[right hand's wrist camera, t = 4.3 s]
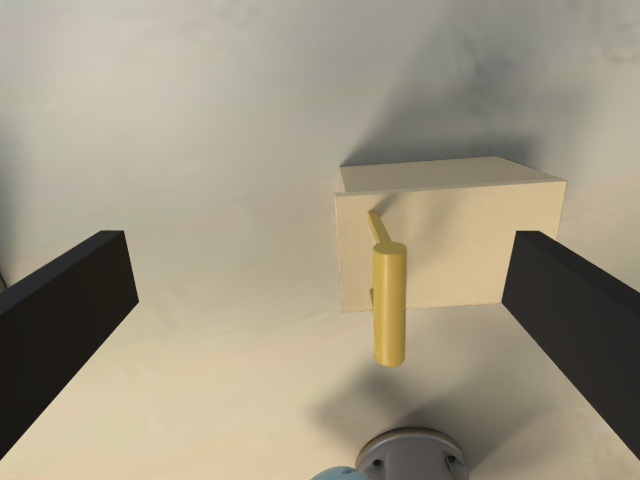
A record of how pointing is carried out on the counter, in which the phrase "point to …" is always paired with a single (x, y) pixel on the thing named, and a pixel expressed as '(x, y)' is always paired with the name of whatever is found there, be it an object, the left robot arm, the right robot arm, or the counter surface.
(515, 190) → the lid
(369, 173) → the chest
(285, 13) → the counter surface
